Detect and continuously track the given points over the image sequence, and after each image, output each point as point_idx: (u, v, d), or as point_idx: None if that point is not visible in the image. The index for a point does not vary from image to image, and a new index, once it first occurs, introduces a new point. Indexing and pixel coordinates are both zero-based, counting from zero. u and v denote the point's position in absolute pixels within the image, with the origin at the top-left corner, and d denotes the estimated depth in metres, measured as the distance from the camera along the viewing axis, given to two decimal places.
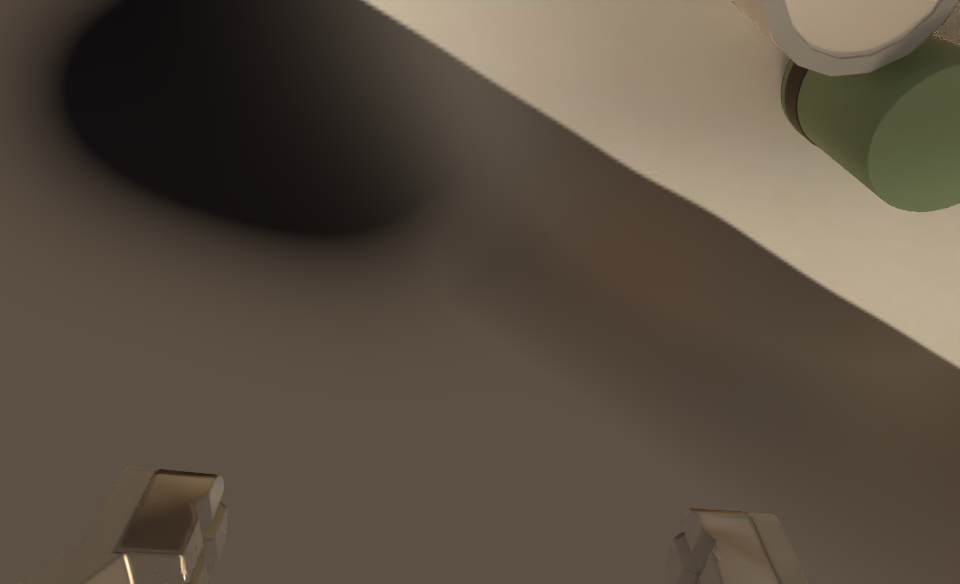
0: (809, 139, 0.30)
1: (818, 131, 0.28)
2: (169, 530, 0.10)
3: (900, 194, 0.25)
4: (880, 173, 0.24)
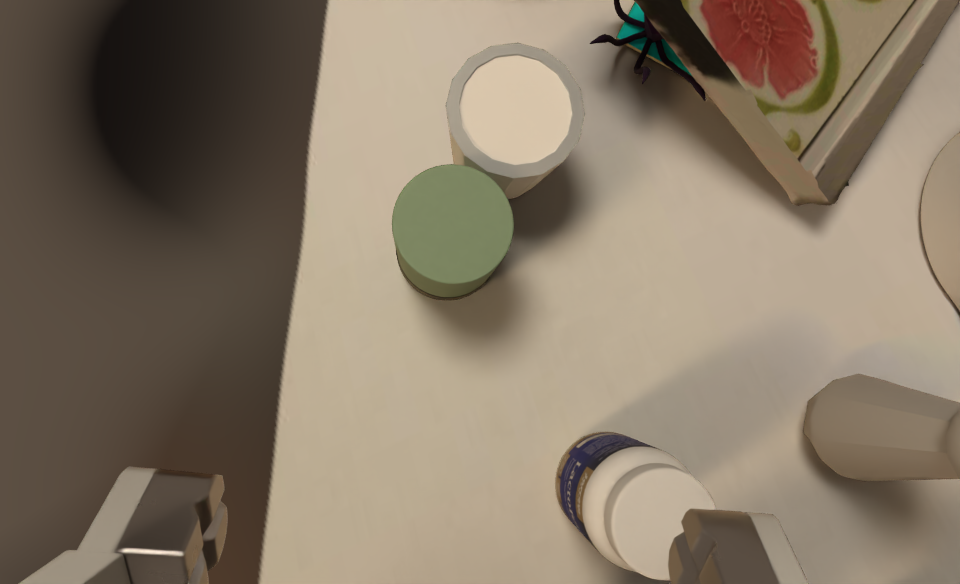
0: None
1: None
2: (169, 531, 0.10)
3: (402, 222, 0.31)
4: (409, 194, 0.31)
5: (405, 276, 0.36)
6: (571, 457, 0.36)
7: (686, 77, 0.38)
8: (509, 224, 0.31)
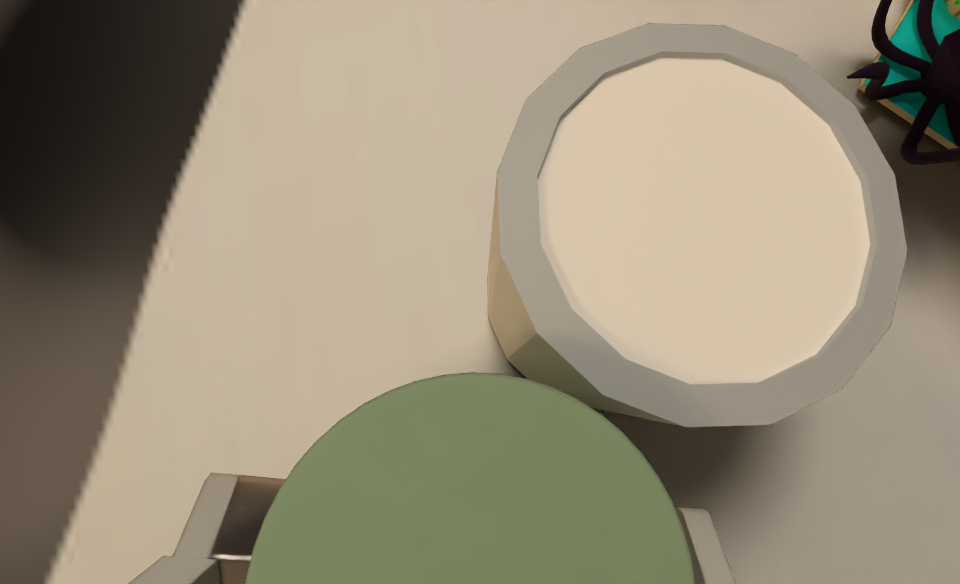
0: None
1: None
2: None
3: (288, 578, 0.08)
4: (332, 469, 0.08)
5: None
6: None
7: None
8: None
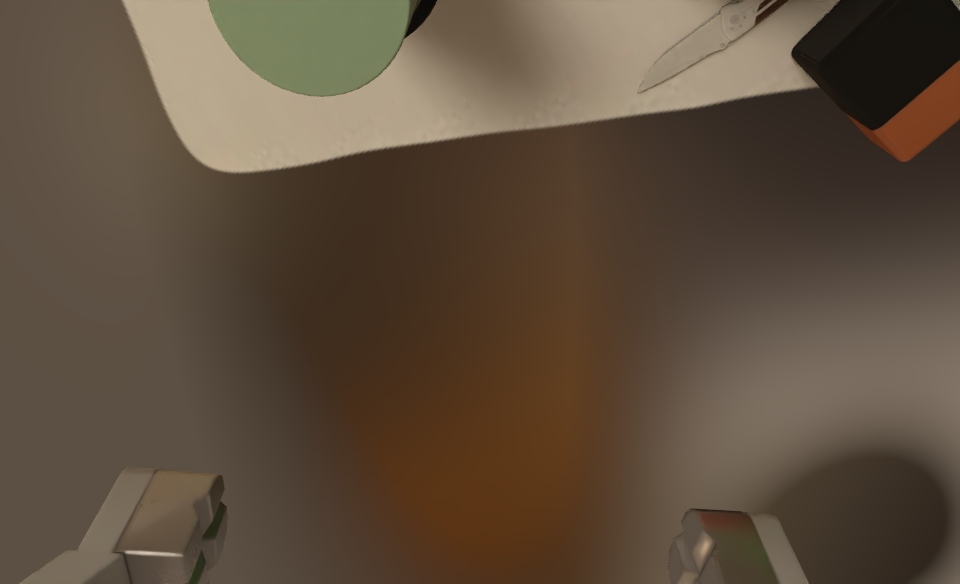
0: None
1: None
2: (169, 530, 0.10)
3: (230, 15, 0.19)
4: None
5: None
6: None
7: None
8: None
